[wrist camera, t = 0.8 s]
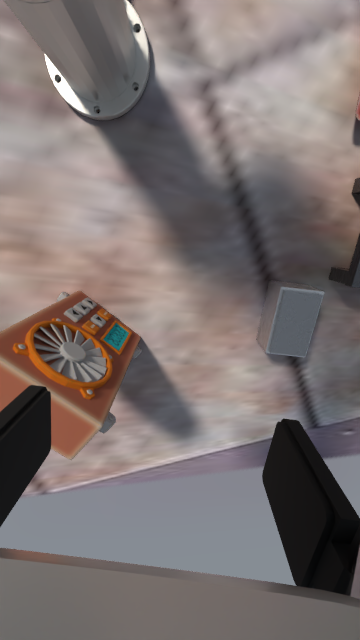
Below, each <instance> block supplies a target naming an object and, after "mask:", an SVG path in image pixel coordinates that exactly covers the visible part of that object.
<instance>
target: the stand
mask: <svg viewBox="0 0 360 640" xmlns="http://www.w3.org/2000/svg"><path fill="white" fill-rule="evenodd" d="M352 193H353V194H360V178H357V179H355V183H354V187H353V190H352ZM329 279H330V280H334V281H337V282H340V283H343V284H345V285H347V286H350V287H357V288H360V235H359V238H358V242H357V245H356V249H355V252H354V256H353V259H352V262H351V266H350V269H345V268H335V267H332V268H331V272H330V275H329Z"/></svg>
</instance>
